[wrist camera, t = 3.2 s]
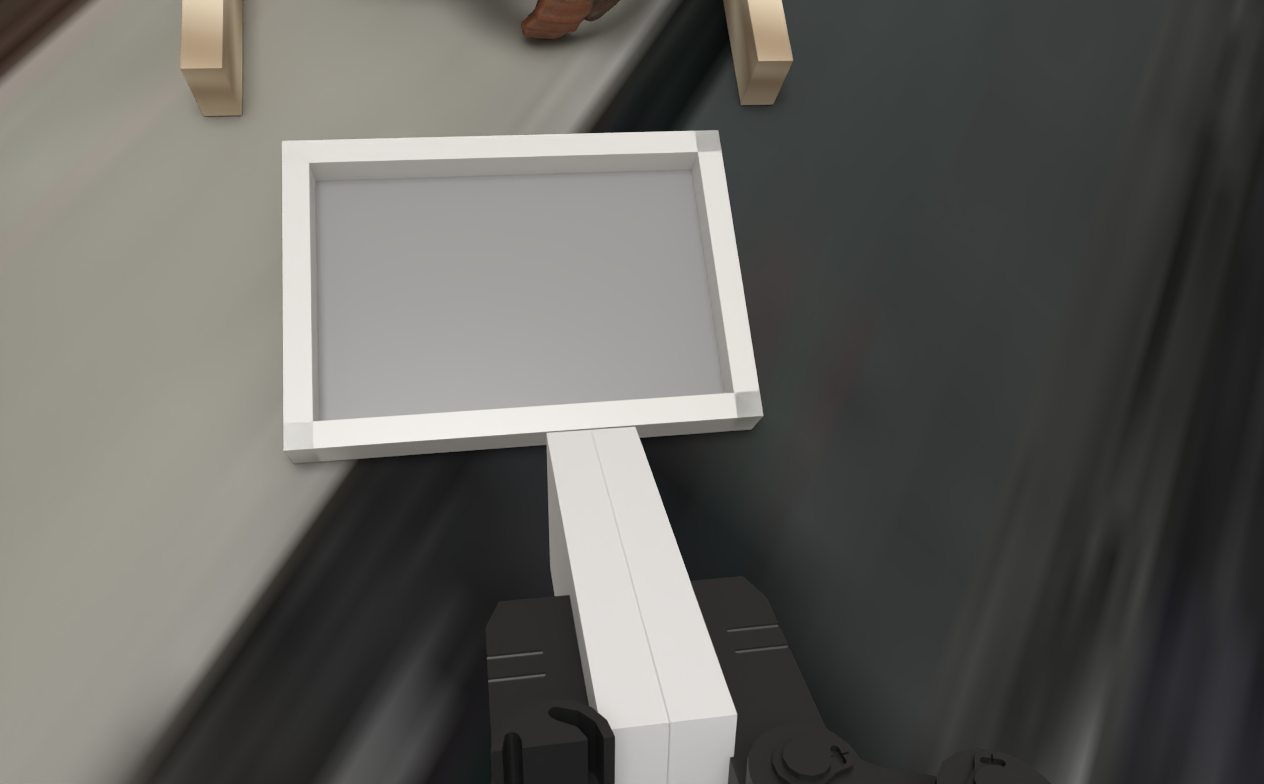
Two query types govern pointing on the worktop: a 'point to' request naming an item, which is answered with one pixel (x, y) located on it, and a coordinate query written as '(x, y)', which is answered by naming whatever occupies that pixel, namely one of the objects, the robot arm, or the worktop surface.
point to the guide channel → (219, 51)
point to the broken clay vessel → (562, 16)
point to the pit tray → (509, 292)
